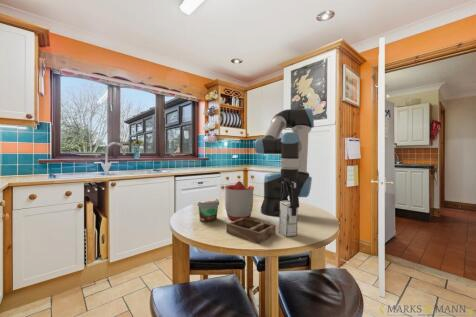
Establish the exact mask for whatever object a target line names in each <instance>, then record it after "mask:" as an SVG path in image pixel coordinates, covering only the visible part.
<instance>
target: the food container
mask: <svg viewBox="0 0 476 317" xmlns="http://www.w3.org/2000/svg"><path fill="white" fill-rule="evenodd" d="M219 206H220V201H219V199H218V198H216V199H215V200H211V201H210V200H209V201H205V202H201V201H200V202H199V201H198V203H197V207H198V215H199V222H202V223H212V222H216V221H217V220H218V209H219Z"/></svg>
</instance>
